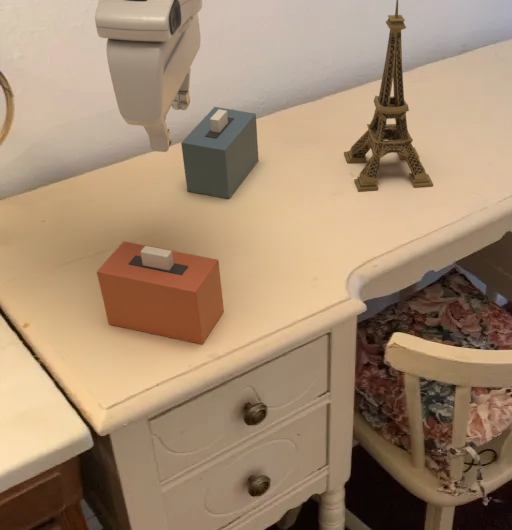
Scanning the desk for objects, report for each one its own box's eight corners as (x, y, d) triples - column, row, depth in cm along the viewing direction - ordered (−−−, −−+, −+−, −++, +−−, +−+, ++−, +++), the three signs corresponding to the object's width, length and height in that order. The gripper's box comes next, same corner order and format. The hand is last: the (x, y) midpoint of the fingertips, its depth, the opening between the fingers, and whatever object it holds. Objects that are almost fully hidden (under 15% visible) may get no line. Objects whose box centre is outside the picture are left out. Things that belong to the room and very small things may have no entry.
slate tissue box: (229, 199, 110) (223, 137, 104) (187, 191, 111) (179, 129, 105) (258, 160, 118) (255, 100, 112) (219, 153, 119) (213, 93, 113)
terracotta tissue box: (108, 324, 91) (92, 257, 85) (133, 292, 95) (120, 226, 89) (202, 344, 89) (193, 277, 83) (224, 311, 93) (217, 245, 87)
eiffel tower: (414, 149, 123) (429, -33, 105) (433, 186, 115) (452, -4, 98) (343, 153, 121) (347, -32, 103) (358, 191, 113) (364, -2, 96)
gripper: (146, -49, 86) (164, 83, 95) (88, 26, 71) (116, 172, 81) (207, -45, 86) (219, 86, 95) (162, 30, 71) (181, 176, 81)
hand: (171, 127), depth 88 cm, fingers open, 8 cm apart
